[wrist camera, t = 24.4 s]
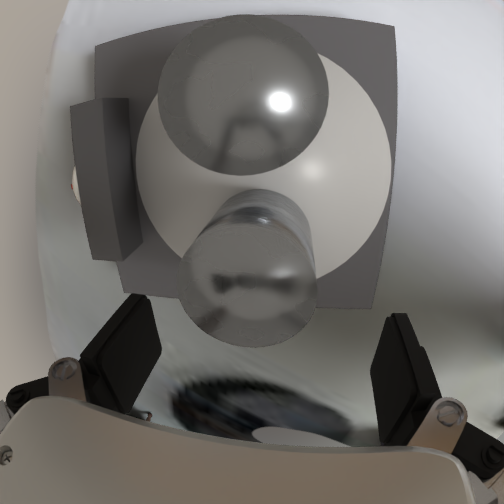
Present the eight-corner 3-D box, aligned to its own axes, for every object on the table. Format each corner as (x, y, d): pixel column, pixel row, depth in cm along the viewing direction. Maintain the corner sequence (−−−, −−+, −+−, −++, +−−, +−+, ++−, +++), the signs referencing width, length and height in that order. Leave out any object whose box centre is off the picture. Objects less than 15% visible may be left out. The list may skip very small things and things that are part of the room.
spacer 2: (313, 190, 16) (323, 229, 11) (307, 284, 19) (310, 350, 13) (207, 188, 17) (167, 225, 11) (214, 279, 19) (186, 340, 14)
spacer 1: (314, 50, 13) (326, 14, 7) (315, 156, 15) (327, 178, 10) (203, 53, 13) (157, 26, 8) (205, 155, 16) (162, 177, 11)
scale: (381, 37, 15) (413, 11, 9) (363, 286, 23) (380, 338, 17) (114, 52, 17) (63, 41, 11) (137, 274, 25) (102, 315, 20)
